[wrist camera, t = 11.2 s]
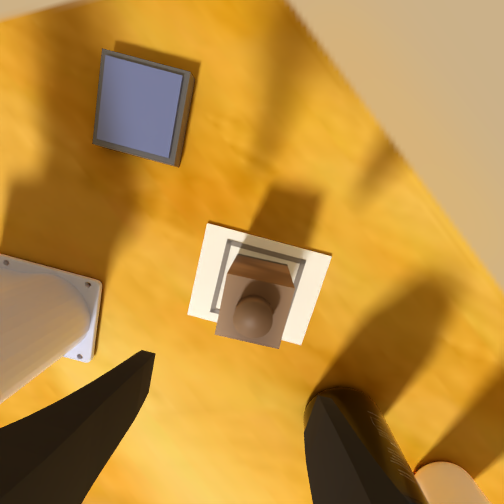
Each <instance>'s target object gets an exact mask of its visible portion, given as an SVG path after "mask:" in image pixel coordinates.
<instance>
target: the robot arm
mask: <svg viewBox="0 0 504 504" xmlns="http://www.w3.org/2000/svg"><path fill="white" fill-rule="evenodd" d="M88 282H89V283H90V284H91V286H90V285H89V284H88ZM101 292H102V283H101V282H100V281H99V280H97V279H93V278H89V277H86V276H82V275H78V274H74V273H71V272H67V271H63V270H60V269H56V268H52V267H48V266H45V265H41V264H37V263H34V262H30V261H26V260H22V259H19V258H15V257H11V256H7V255H4V254H0V404H1V403H2V402H3V401H5V400H6V399H7V398H9V397H10V396H11V395H13V394H14V393H15V392H17V391H18V390H19V389H20V388H22V387H23V386H24V385H26V384H27V383H28V382H30V381H31V380H32V379H34V378H35V377H36V376H37V375H39V374H40V373H41V372H43V371H44V370H45V369H47V368H48V367H49V366H51V365H52V364H53V363H55V362H56V361H57V360H58V359H60V358H61V357H62V356H63V357H67V358H71V359H74V360H78V361H82V362H90V361H91V360H92V359H93V356H94V348H95V340H96V332H97V324H98V316H99V308H100V300H101ZM81 355H82V356H81ZM154 359H155V353H151V352H147V351H143V350H141V351H139V352H138V353H136V354H135V355H133V356H132V357H130V358H129V359H127V360H126V361H124V362H123V363H121V364H119V365H118V366H116V367H115V368H113V369H112V370H110V371H109V372H107V373H105V374H104V375H102V376H101V377H99V378H97V379H96V380H94V381H93V382H91V383H89V384H87V385H86V386H84V387H82V388H80V389H79V390H77V391H75V392H73V393H72V394H70V395H68V396H66V397H65V398H63V399H61V400H59V401H57V402H55V403H53V404H51V405H49V406H47V407H46V408H43V409H41V410H39V411H37V412H35V413H33V414H31V415H29V416H27V417H25V418H23V419H20V420H18V421H16V422H14V423H11V424H9V425H7V426H4V427H2V428H0V504H81V503H82V502H83V500H84V498H85V496H86V495H87V493H88V491H89V490H90V488H91V486H92V485H93V483H94V482H95V480H96V478H97V477H98V475H99V474H100V472H101V471H102V469H103V468H104V466H105V465H106V463H107V461H108V460H109V458H110V457H111V455H112V454H113V452H114V451H115V449H116V448H117V446H118V445H119V443H120V441H121V440H122V438H123V437H124V435H125V434H126V432H127V431H128V429H129V427H130V426H131V424H132V423H133V421H134V420H135V418H136V416H137V414H138V412H139V410H140V408H141V407H142V405H143V403H144V401H145V399H146V397H147V395H148V393H149V387H150V381H151V376H152V370H153V364H154ZM304 441H305V455H306V465H307V471H308V477H309V483H310V489H311V494H312V500H313V504H410V503H409V502H408V501H407V500H406V498H405V497H404V496H403V495H402V494H401V492H400V491H399V490H398V489H397V488H396V486H395V485H394V484H393V483H392V481H391V480H390V479H389V477H388V476H387V475H386V474H385V472H384V471H383V470H382V468H381V467H380V466H379V465H378V463H377V462H376V461H375V459H374V458H373V457H372V455H371V454H370V452H369V451H368V450H367V448H366V447H365V446H364V444H363V443H362V441H361V440H360V439H359V437H358V436H357V434H356V433H355V431H354V430H353V429H352V427H351V426H350V424H349V423H348V421H347V420H346V418H345V417H344V415H343V414H342V413H341V411H340V410H339V408H338V407H337V405H336V404H335V403H334V401H333V400H332V398H328V397H324V396H320V395H318V396H317V398H316V401H315V404H314V407H313V409H312V412H311V415H310V417H309V420H308V423H307V426H306V428H305V431H304Z"/></svg>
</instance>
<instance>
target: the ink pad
mask: <svg viewBox="0 0 504 504" xmlns="http://www.w3.org/2000/svg"><path fill="white" fill-rule="evenodd" d="M194 82H195V79H194V77H193V75H192V74H191V72H189V71H185V70H181V69H178V68H174V67H170V66H166V65H163V64H159V63H155V62H151V61H148V60H144V59H140V58H136V57H133V56H129V55H125V54H121V53H118V52H114V51H110V50H106V49H103V48H102V55H101V65H100V75H99V85H98V95H97V105H96V114H95V124H94V134H93V144H95V145H98V146H101V147H104V148H108V149H112V150H115V151H119V152H123V153H127V154H130V155H134V156H138V157H142V158H145V159H149V160H153V161H157V162H160V163H164V164H168V165H172V166H175V167H179V165H180V160H181V154H182V149H183V143H184V138H185V132H186V127H187V121H188V116H189V110H190V105H191V99H192V94H193V88H194Z"/></svg>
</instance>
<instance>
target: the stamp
mask: <svg viewBox="0 0 504 504" xmlns="http://www.w3.org/2000/svg"><path fill="white" fill-rule="evenodd" d="M294 291H295V287H294V284H293V281H292V278H291V275H290V271H289V268H288V265H287V264H283V263H279V262H274V261H270V260H265V259H261V258H256V257H252V256H247V255H243V254H237V256H236V258H235V259H234V261H233V263H232V265H231V267H230V269H229V270H228V272H227V275H226V281H225V286H224V291H223V296H222V301H221V306H220V311H219V316H218V321H217V326H216V331H215V335H219V336H224V337H228V338H232V339H237V340H241V341H246V342H250V343H255V344H259V345H263V346H268V347H272V348H277V349H279V346H280V343H281V339H282V335H283V332H284V328H285V324H286V320H287V317H288V313H289V309H290V306H291V302H292V298H293V294H294Z"/></svg>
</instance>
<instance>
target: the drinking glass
mask: <svg viewBox="0 0 504 504" xmlns="http://www.w3.org/2000/svg"><path fill="white" fill-rule="evenodd" d="M414 476H415V478H416V480H417V482H418V483H419V485H420V487H421V489H422V491H423V493H424V495H425V497H426V499H427V501H428V503H429V504H492V503H491V502H490V501H489V499H488V498H487V497H486V496H485V494H484V493H483V492H482V490H481V489H480V488H479V486H478V485H477V484H476V482H475V481H474V480H473V478H472V477H471V476H470V475H469V474H468V472H466V471H465V470H464V469H463V468H461V467H460V466H458V465H456V464H453V463H450V462H433V463H430V464H427V465H425V466H423V467H422V468H420V469H419V470H418V471H417V472H416V474H415V475H414Z"/></svg>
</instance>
